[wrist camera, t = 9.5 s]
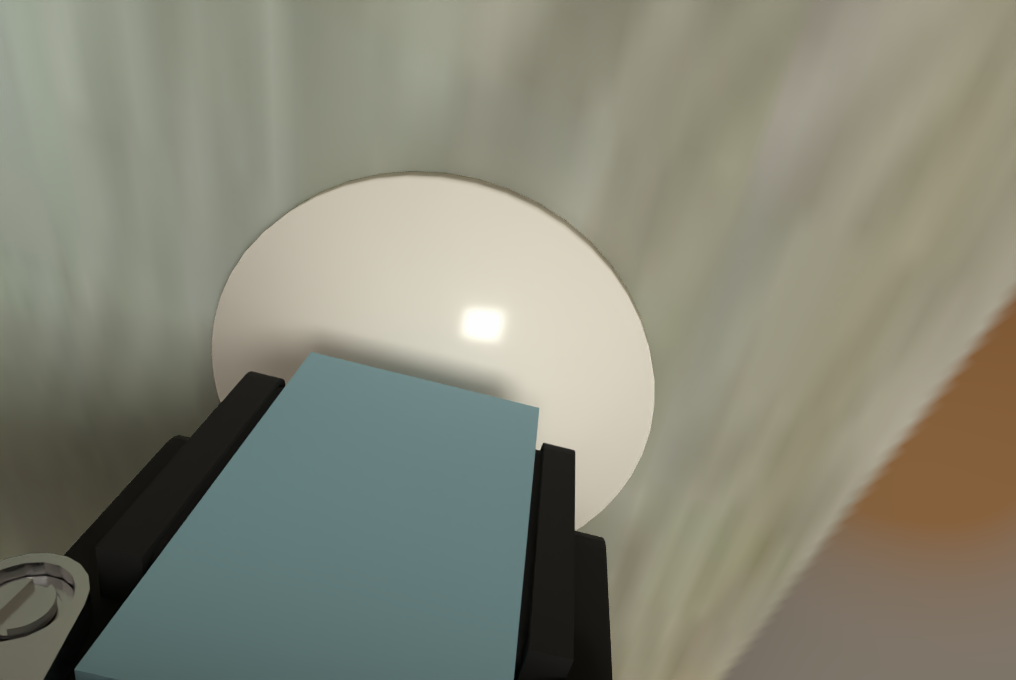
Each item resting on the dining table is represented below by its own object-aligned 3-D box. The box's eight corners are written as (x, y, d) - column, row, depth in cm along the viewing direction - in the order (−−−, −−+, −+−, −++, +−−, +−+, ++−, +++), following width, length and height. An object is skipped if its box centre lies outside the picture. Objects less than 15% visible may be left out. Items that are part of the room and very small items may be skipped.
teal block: (311, 351, 11) (74, 670, 6) (539, 407, 11) (505, 769, 6) (294, 522, 13) (102, 879, 8) (490, 569, 13) (431, 952, 8)
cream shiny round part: (230, 116, 12) (214, 122, 11) (719, 240, 12) (725, 251, 11) (221, 493, 16) (209, 510, 16) (581, 579, 16) (581, 599, 16)
